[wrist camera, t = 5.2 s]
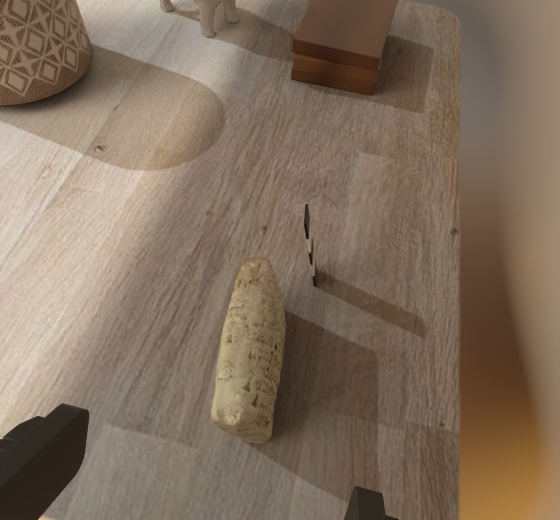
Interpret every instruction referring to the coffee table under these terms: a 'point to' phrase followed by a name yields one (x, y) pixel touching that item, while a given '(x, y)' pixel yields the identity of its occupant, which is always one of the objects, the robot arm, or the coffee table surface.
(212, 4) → the dog figurine
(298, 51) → the slab pile
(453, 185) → the coffee table surface
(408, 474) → the coffee table surface
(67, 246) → the coffee table surface
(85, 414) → the robot arm
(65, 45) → the planter
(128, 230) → the coffee table surface
